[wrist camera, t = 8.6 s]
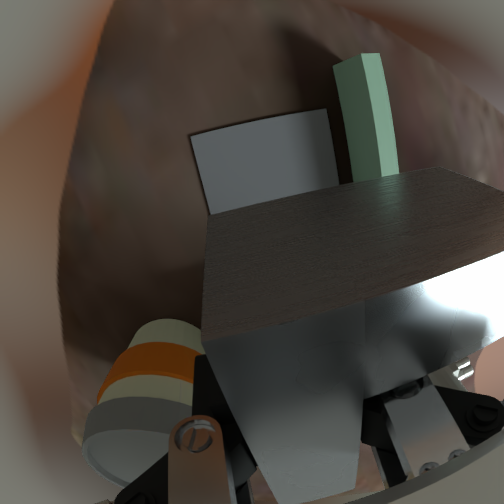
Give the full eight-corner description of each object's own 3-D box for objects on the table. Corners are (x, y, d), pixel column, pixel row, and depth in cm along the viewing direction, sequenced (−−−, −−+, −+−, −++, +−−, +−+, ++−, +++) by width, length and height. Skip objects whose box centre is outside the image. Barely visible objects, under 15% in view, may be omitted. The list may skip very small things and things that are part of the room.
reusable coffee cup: (101, 359, 33) (65, 466, 19) (146, 281, 29) (103, 400, 16) (194, 403, 36) (192, 509, 23) (253, 339, 33) (274, 460, 19)
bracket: (208, 215, 10) (200, 341, 5) (439, 166, 10) (568, 222, 5) (259, 386, 13) (280, 507, 8) (429, 333, 13) (496, 420, 8)
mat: (325, 108, 25) (326, 108, 25) (343, 227, 29) (344, 228, 29) (190, 136, 25) (190, 136, 24) (222, 256, 29) (222, 257, 29)
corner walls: (348, 64, 23) (379, 53, 18) (374, 268, 31) (402, 297, 26) (165, 98, 23) (150, 91, 18) (224, 307, 31) (226, 345, 26)
